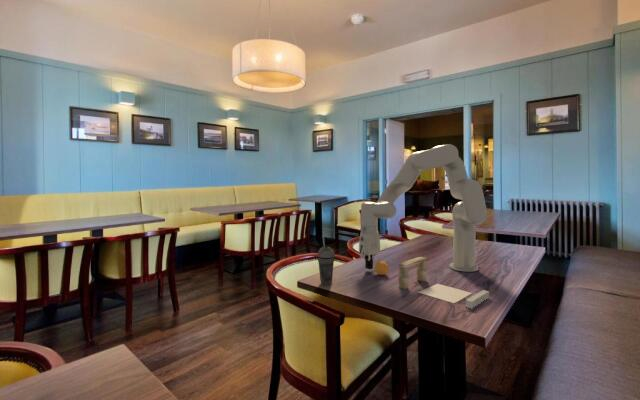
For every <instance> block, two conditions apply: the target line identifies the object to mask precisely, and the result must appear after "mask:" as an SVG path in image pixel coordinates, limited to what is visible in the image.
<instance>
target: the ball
mask: <svg viewBox="0 0 640 400" xmlns="http://www.w3.org/2000/svg"><path fill="white" fill-rule="evenodd" d="M374 270H375V273H376V274H377V275H378V276H379V275H380V276H384V275H387V273H388V272H389V270H390V269H389V266H388V264H387V262H385V261H381V260H380V261H377V262H376V263H375V266H374Z"/></svg>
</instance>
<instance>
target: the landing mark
mask: <svg viewBox="0 0 640 400" xmlns="http://www.w3.org/2000/svg"><path fill="white" fill-rule="evenodd" d="M418 294H422V295H425V296H428V297H431V298H435V299H438V300H441V301H444V302H448V303H450V304H456V303H458V302H459V301H461V300H463V299H465V298H467V297H469V296H471V295H472V294H473V293H472V292H469V291H466V290H462V289H459V288H456V287H452V286H451V287H450V286H447V285H443V284H441V283H436V284H433V285H432V286H429V287H427V288H425V289H422V290H421V291H418Z"/></svg>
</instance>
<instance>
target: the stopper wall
mask: <svg viewBox="0 0 640 400" xmlns="http://www.w3.org/2000/svg"><path fill="white" fill-rule="evenodd" d="M486 299H487V300H489V299H490V291H488V290H485V289H483V290H481V291H479V292H477V293H475V294H474V295H472V296H470V297H468V298H466V299H465V308H466V307H467V309H470V308H471V309H470V310H473V309H474V308H475V306H476V307H477V306H479V305H480V304H482V303H484V302H485V301H487V300H486ZM484 300H485V301H484ZM483 301H484V302H483ZM481 302H482V303H481ZM478 304H479V305H478ZM473 307H474V308H473Z"/></svg>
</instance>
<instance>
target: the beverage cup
mask: <svg viewBox="0 0 640 400" xmlns="http://www.w3.org/2000/svg"><path fill="white" fill-rule="evenodd" d="M322 244H323V246H322V247H321V248H319V250H318V251H317V262H318V271H319V278H320V279H319V280H320V285H321V286H326V287H328V286H332V285H333V284H332V283H333V275H334V274H333V273H334V264H335V263H334V262H335V258H336V256H335V251H334V249H333V248H332V247H330V246H327V245H326V244H325V236H324V235H322Z"/></svg>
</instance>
